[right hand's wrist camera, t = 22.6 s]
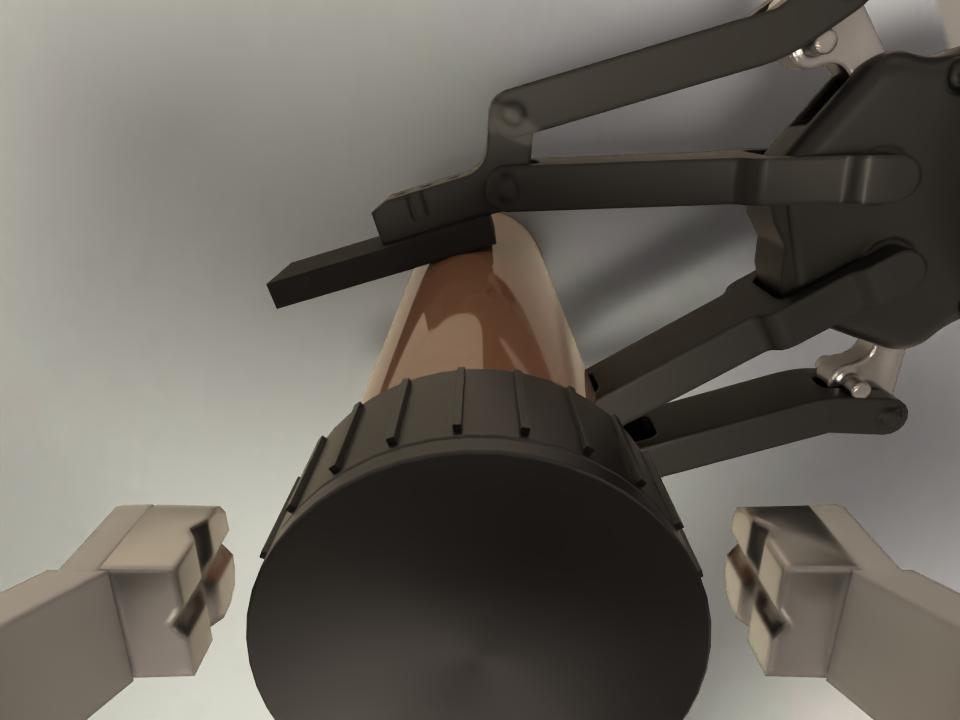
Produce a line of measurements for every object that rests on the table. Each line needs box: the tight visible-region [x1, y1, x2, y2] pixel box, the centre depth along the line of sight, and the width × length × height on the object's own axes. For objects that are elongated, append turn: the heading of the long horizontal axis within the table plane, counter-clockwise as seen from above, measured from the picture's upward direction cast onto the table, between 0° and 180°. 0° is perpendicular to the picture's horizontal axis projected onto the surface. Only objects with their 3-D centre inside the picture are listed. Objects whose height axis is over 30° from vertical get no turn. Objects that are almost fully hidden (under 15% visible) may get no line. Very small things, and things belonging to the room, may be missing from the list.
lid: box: [246, 367, 711, 720], centre depth 9 cm, size 6×6×2 cm
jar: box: [361, 213, 601, 408], centre depth 18 cm, size 5×5×19 cm
